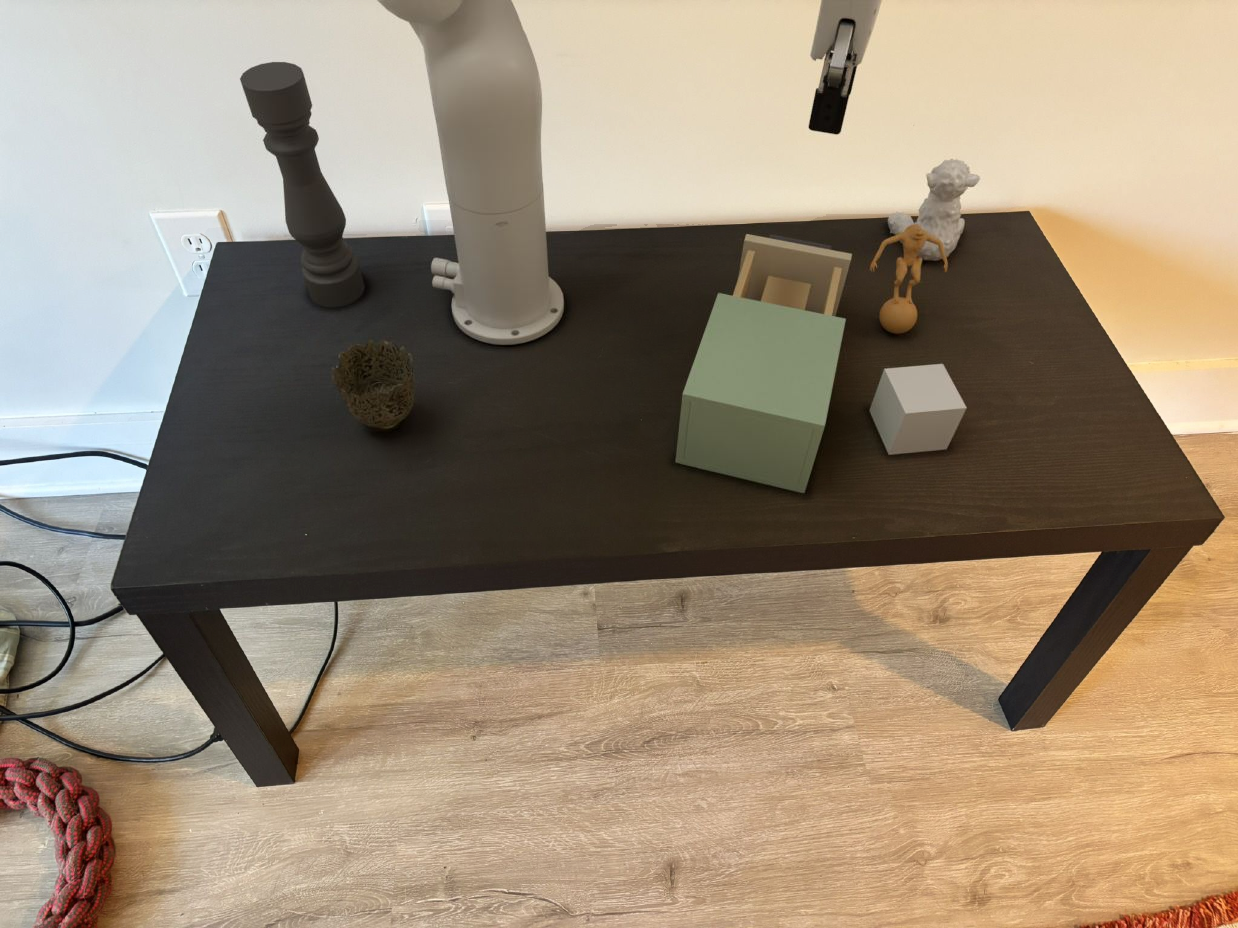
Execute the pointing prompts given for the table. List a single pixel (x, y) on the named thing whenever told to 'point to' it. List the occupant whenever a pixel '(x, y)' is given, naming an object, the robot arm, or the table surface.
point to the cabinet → (759, 392)
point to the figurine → (899, 310)
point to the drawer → (793, 269)
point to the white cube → (916, 409)
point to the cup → (376, 384)
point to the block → (786, 292)
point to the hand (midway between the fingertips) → (829, 110)
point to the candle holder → (304, 182)
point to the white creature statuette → (939, 208)
